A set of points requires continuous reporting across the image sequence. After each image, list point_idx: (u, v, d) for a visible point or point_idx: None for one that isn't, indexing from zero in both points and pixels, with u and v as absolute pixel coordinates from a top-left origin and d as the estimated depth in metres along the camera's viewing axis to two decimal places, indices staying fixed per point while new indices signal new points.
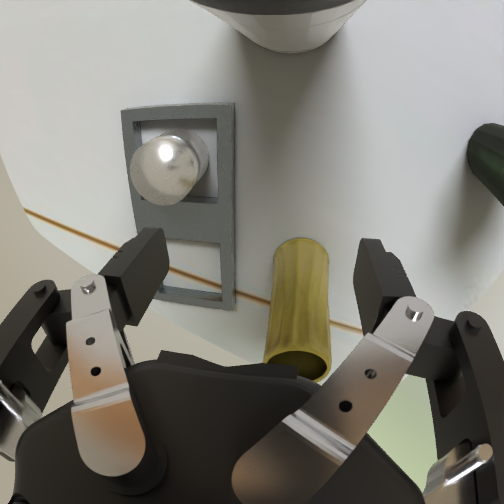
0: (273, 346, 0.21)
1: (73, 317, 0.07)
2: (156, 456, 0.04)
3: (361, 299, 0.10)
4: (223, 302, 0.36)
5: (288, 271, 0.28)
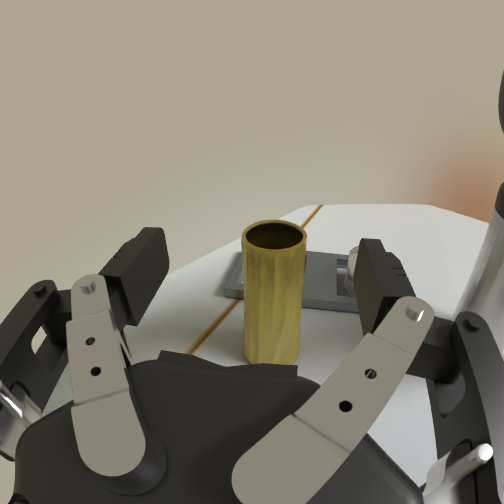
0: None
1: (73, 317, 0.07)
2: (156, 456, 0.04)
3: (361, 299, 0.10)
4: (236, 283, 0.39)
5: None
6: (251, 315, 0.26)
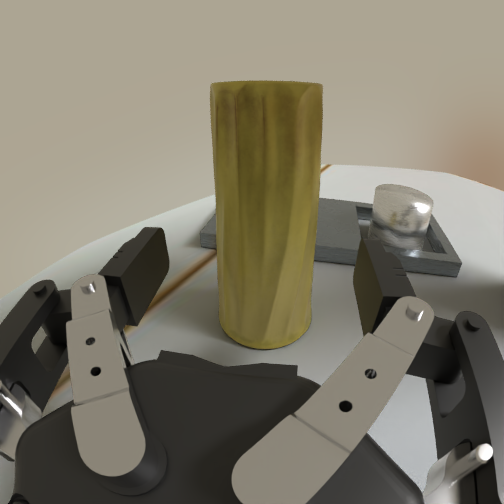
0: None
1: (73, 317, 0.07)
2: (156, 456, 0.04)
3: (361, 299, 0.10)
4: None
5: None
6: (226, 236, 0.15)
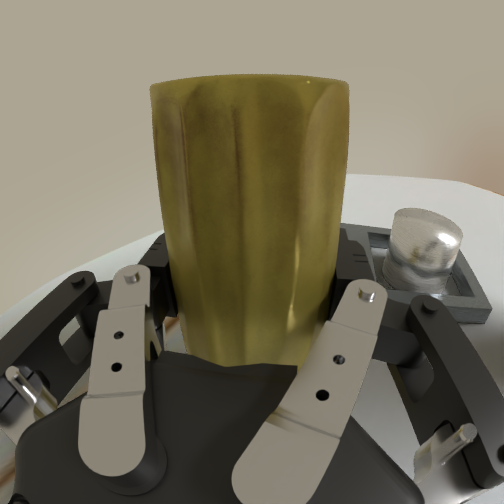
0: None
1: (110, 306, 0.07)
2: (156, 456, 0.04)
3: None
4: None
5: None
6: (190, 330, 0.09)
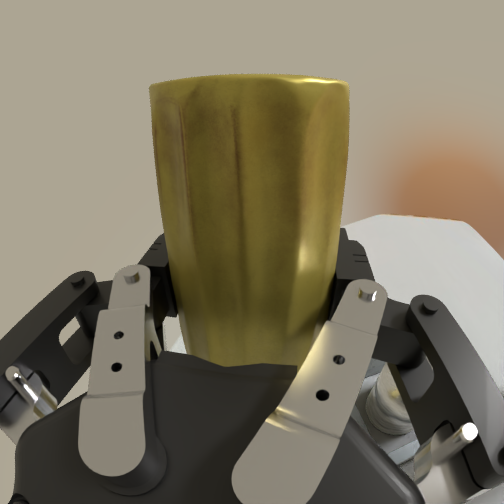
0: None
1: (110, 305, 0.07)
2: (156, 456, 0.04)
3: None
4: None
5: None
6: (189, 331, 0.09)
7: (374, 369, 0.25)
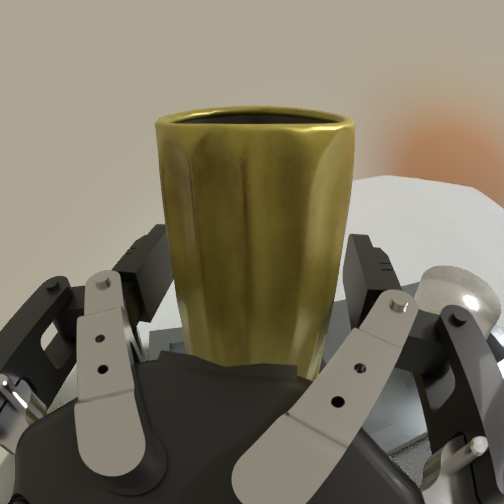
0: None
1: (85, 312, 0.07)
2: (156, 456, 0.04)
3: (349, 294, 0.11)
4: None
5: None
6: (195, 354, 0.10)
7: None
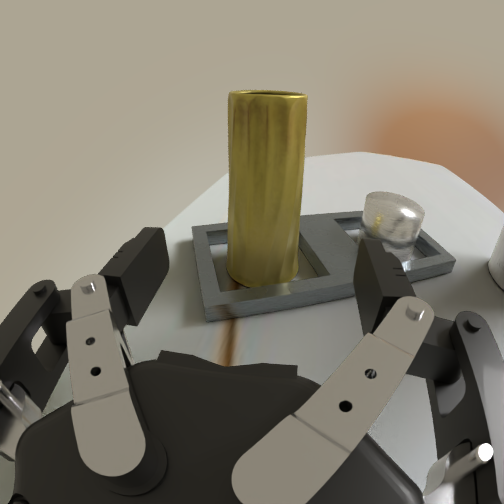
0: None
1: (73, 317, 0.07)
2: (156, 456, 0.04)
3: (361, 299, 0.10)
4: (220, 292, 0.21)
5: None
6: (237, 200, 0.20)
7: (361, 220, 0.31)
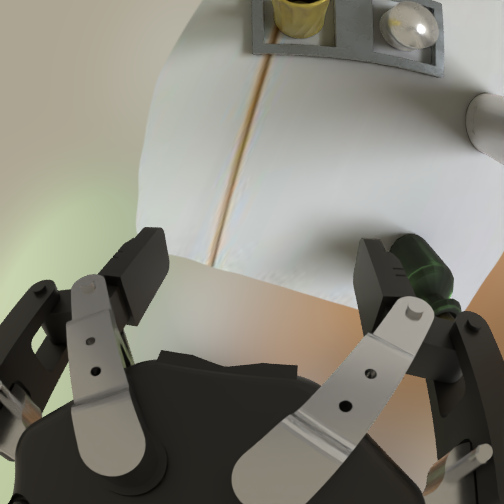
0: None
1: (73, 317, 0.07)
2: (156, 456, 0.04)
3: (361, 299, 0.10)
4: (263, 44, 0.28)
5: None
6: (276, 12, 0.22)
7: None
